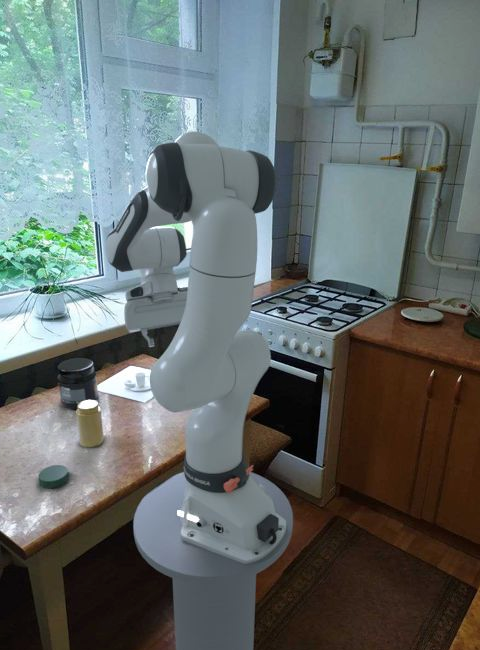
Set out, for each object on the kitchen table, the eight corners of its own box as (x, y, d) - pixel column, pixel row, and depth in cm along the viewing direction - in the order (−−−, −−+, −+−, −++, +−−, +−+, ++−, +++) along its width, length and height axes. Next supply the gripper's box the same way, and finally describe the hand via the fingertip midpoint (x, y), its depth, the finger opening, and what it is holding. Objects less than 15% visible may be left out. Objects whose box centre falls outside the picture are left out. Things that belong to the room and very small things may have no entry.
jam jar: (108, 440, 127) (105, 403, 123) (89, 450, 122) (85, 412, 118) (94, 432, 130) (90, 396, 126) (75, 441, 125) (70, 405, 121)
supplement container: (99, 392, 151) (96, 355, 146) (98, 408, 142) (94, 370, 137) (62, 395, 148) (58, 358, 144) (59, 412, 139) (53, 373, 134)
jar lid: (37, 477, 112) (35, 470, 111) (65, 468, 115) (64, 461, 114) (43, 491, 107) (41, 484, 106) (71, 482, 110) (71, 475, 110)
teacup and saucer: (120, 388, 154) (119, 376, 152) (135, 378, 160) (135, 367, 159) (143, 394, 151) (143, 382, 149) (158, 383, 157) (158, 372, 156)
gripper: (199, 287, 131) (210, 337, 130) (121, 299, 127) (130, 352, 125) (201, 280, 125) (212, 333, 124) (119, 293, 121) (129, 348, 119)
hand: (170, 343), depth 124 cm, fingers open, 8 cm apart
